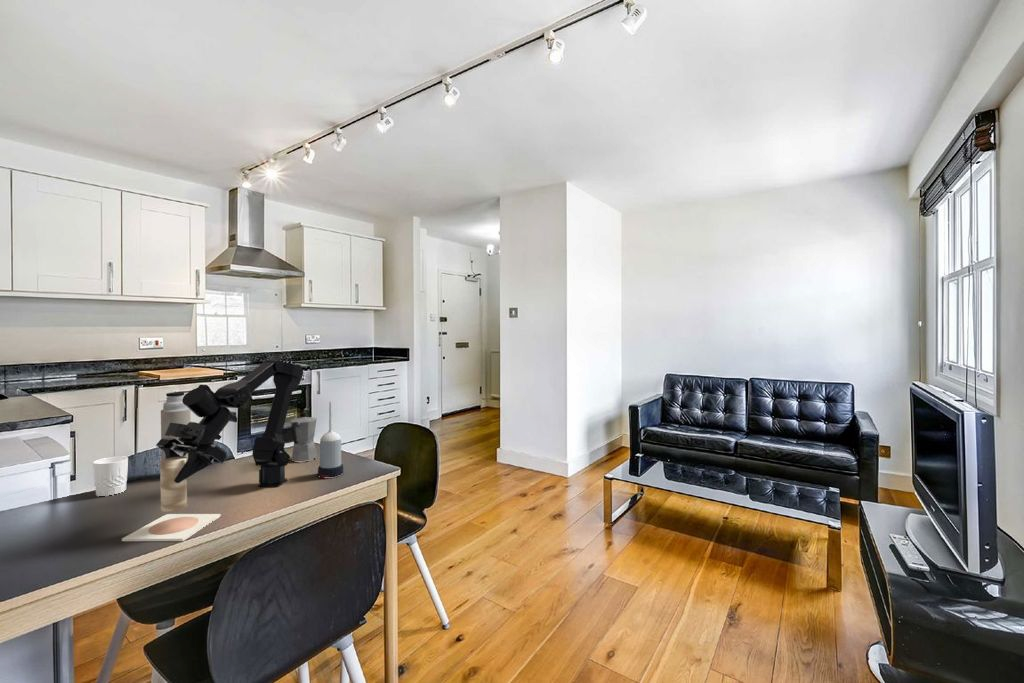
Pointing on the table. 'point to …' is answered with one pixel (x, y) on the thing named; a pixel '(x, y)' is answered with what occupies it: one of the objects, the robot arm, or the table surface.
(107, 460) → the white cup
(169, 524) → the card
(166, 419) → the thermos bottle
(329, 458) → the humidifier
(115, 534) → the table surface
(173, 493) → the wooden tube
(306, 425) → the coffeepot
